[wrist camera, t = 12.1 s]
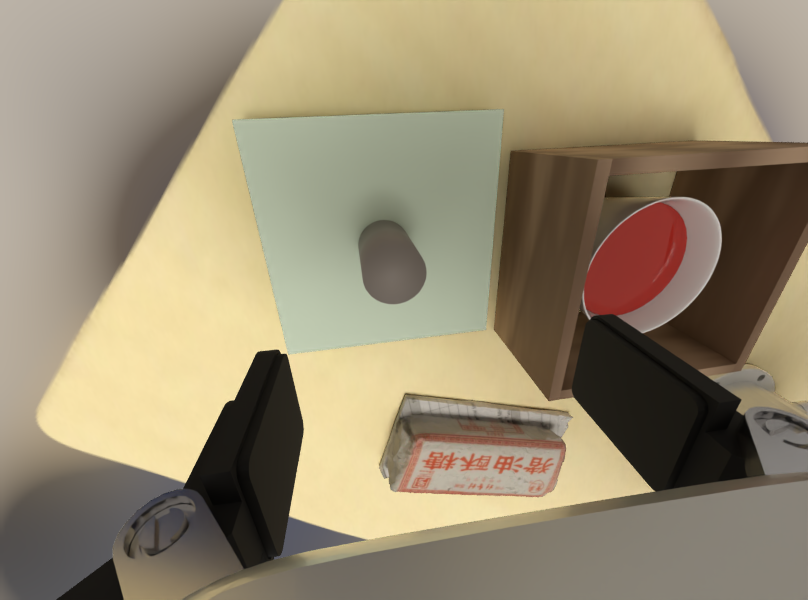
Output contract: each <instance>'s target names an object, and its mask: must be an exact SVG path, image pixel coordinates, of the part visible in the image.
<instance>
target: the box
mask: <svg viewBox="0 0 808 600" xmlns="http://www.w3.org/2000/svg"><path fill="white" fill-rule="evenodd" d="M672 171H677V174H676V177H675V181H674V184H673V187H672V190H671V194H670V197H689V198H693V199H697V200H699V201H701V202H703V203H705V204H706V205H708V206H709V207H710V208H711V209H712V210H713V212H714V213H715V214H716V216H717V218H718V220H719V223H720V227H721V233H722V244H721V251H720V255H719V259H718V262H717V264H716V267H715V269H714V271H713V273H712V275H711V277H710V279H709V281H708V282H707V284H706V285H705V287H704V288H703V290H702V291H701V292H700V294H699V295H698V296H697V297H696V298H695V300H694V301H693V302H692V303H691V304H690V305H689V306H688V307H687V308H686V309H684V310H683V311H682V312H681V313H680V314H678V315H677V316H676V317H674V318H673V319H671V320H670V321H668V322H667V323H665V324H663V325H661V326H659V327H657V328H655V329H653V330H650V331H648V332H645V333H643V334H644V335H646V336H647V337H649V338H650V339H652V340H653V341H655V342H656V343H658V344H659V345H661V346H662V347H664V348H665V349H667V350H668V351H670V352H671V353H673V354H674V355H676V356H677V357H679V358H680V359H682V360H683V361H685V362H686V363H688V364H689V365H691V366H692V367H694V368H695V369H697V370H698V371H700V372H701V373H703V374H704V375H706V376H712V375H719V374H725V373H731V372H738V371H741V370H742V368H743V366H744V364H745V362H746V360H747V359H748V357H749V355H750V353H751V351H752V349H753V347H754V345H755V343H756V341H757V339H758V337H759V335H760V333H761V332H762V330H763V328H764V326H765V324H766V322H767V320H768V318H769V316H770V314H771V312H772V310H773V308H774V307H775V305H776V303H777V301H778V299H779V297H780V295H781V293H782V291H783V289H784V287H785V285H786V283H787V281H788V280H789V278H790V276H791V274H792V272H793V270H794V268H795V266H796V264H797V262H798V260H799V258H800V256H801V254H802V253H803V251H804V249H805V247H806V245H807V243H808V143H794V142H793V143H792V142H740V141H680V142H662V143H644V144H626V145H608V146H590V147H572V148H554V149H536V150H518V151H511V156H510V166H509V177H508V188H507V198H506V209H505V219H504V230H503V241H502V251H501V262H500V272H499V283H498V294H497V304H496V315H495V325H494V330H495V332H496V333H497V334H498V336H499V337H500V338H501V339H502V341H503V342H504V343H505V345H506V346H507V347H508V349H509V350H510V351H511V352H512V354H513V355H514V356H515V358H516V359H517V360H518V362H519V363H520V364H521V366H522V367H523V368H524V369H525V371H526V372H527V373H528V375H529V376H530V377H531V379H532V380H533V381H534V382H535V384H536V385H537V386H538V388H539V389H540V390H541V392H542V393H543V394H544V395H545V397H546V398H547V399H548V401H552V400H559V399H565V398H571V397H574V396H573V393H572V383H573V379H574V374H575V369H576V365H577V360H578V356H579V351H580V347H581V342H582V338H583V333H584V329H585V325H586V323H587V322H588V321H589V319H588V318H587V317H586V316H585V315H584V313H583V312H579V309H580V304H581V300H582V295H583V291H584V286H585V282H586V277H587V273H588V268H589V263H590V259H591V254H592V250H593V245H594V241H595V236H596V232H597V227H598V223H599V218H600V214H601V209H602V205H603V200H604V196H605V191H606V187H607V182H608V178H609V176H613V175H628V174H643V173H658V172H672Z"/></svg>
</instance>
